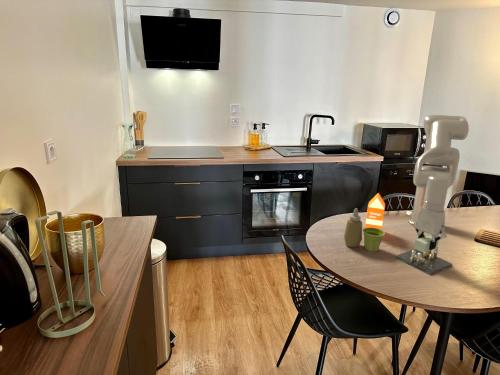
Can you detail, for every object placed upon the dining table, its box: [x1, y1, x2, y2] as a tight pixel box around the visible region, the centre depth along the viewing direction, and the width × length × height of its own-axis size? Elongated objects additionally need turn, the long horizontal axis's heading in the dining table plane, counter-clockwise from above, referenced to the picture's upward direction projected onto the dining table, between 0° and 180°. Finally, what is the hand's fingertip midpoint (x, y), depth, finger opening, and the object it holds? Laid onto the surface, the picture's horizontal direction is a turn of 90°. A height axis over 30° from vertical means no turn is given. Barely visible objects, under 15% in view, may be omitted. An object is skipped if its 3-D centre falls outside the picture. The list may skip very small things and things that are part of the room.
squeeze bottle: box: [343, 207, 363, 248], centre depth 158 cm, size 8×8×18 cm
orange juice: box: [364, 192, 386, 230], centre depth 172 cm, size 8×9×20 cm
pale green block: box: [413, 234, 439, 253], centre depth 144 cm, size 4×9×4 cm, turn 120°
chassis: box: [395, 246, 453, 276], centre depth 146 cm, size 16×15×6 cm
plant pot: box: [362, 227, 386, 252], centre depth 156 cm, size 9×9×9 cm
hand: (426, 246), depth 145 cm, fingers closed on pale green block, 4 cm apart
